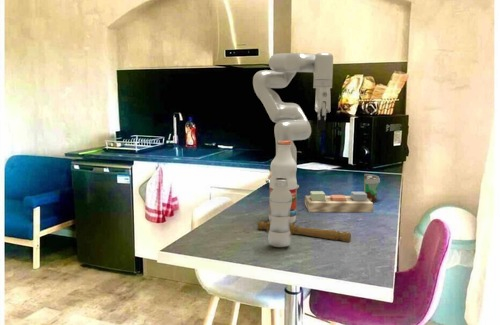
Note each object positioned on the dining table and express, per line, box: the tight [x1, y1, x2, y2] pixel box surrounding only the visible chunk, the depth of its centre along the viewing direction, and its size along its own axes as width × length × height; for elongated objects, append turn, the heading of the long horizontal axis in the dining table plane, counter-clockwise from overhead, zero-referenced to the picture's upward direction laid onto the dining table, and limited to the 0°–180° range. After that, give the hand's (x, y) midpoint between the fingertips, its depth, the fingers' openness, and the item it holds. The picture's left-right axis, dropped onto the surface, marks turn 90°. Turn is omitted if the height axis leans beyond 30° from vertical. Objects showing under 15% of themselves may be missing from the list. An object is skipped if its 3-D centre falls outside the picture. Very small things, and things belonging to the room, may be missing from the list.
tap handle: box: [257, 220, 352, 243], centre depth 143 cm, size 3×3×30 cm
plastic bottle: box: [267, 178, 292, 248], centre depth 131 cm, size 6×7×20 cm
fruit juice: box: [268, 140, 298, 224], centre depth 156 cm, size 9×9×28 cm
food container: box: [363, 173, 381, 203], centre depth 189 cm, size 12×6×10 cm, turn 168°
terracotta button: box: [330, 194, 346, 201], centre depth 176 cm, size 5×5×4 cm
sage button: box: [309, 190, 326, 201], centre depth 175 cm, size 5×5×4 cm
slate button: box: [350, 191, 367, 201], centre depth 176 cm, size 5×5×4 cm
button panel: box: [304, 195, 374, 214], centre depth 176 cm, size 24×12×4 cm, turn 91°
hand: (321, 129), depth 186 cm, fingers closed
